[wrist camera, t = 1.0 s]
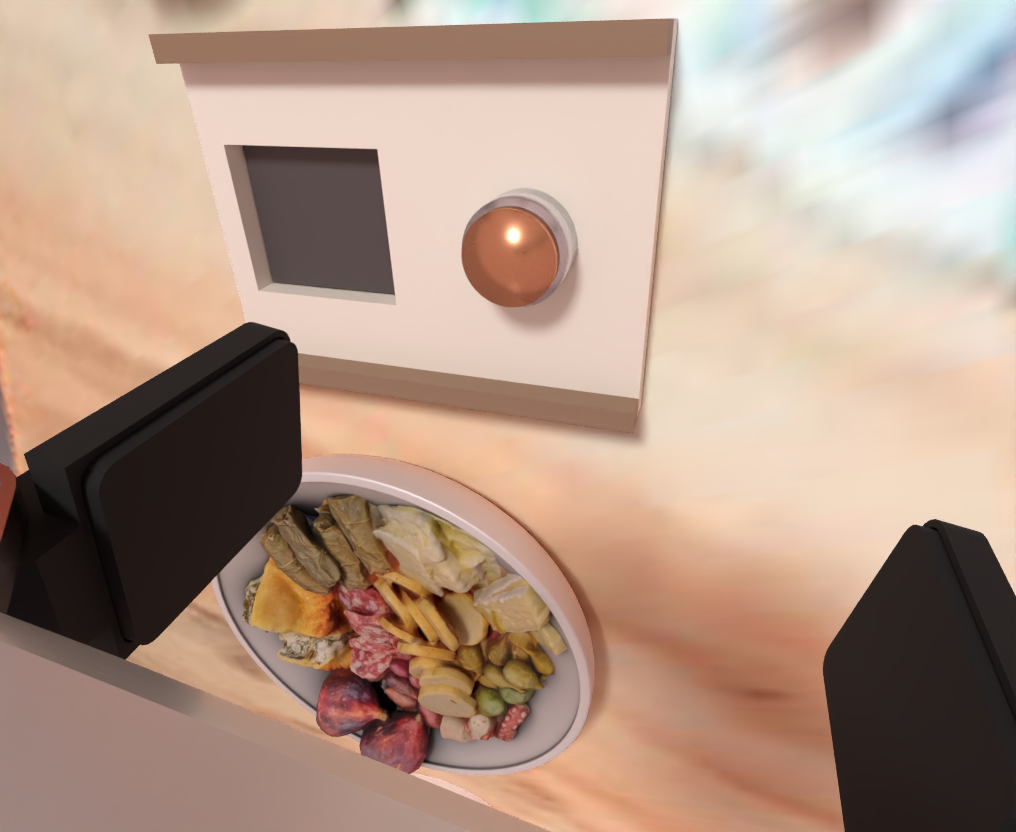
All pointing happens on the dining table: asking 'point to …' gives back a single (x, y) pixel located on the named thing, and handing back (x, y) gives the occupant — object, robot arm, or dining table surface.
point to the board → (440, 201)
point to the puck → (519, 248)
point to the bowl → (413, 620)
